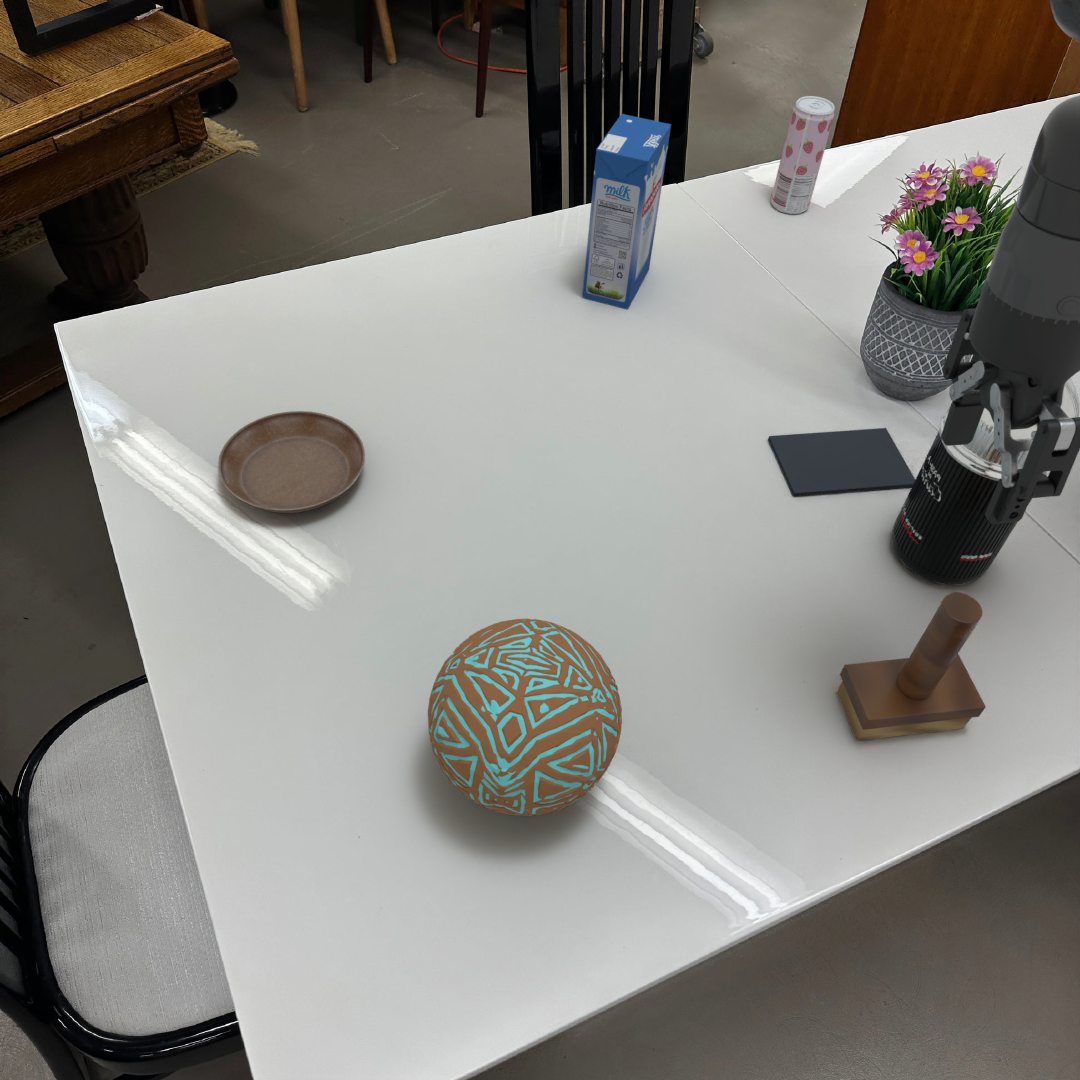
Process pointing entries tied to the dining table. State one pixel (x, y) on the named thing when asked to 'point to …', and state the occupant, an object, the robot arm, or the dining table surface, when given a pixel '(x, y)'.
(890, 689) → the brush
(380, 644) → the dining table surface
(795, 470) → the mat
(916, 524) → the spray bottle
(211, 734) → the dining table surface
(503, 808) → the decorative sphere
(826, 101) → the beverage can
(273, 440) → the saucer
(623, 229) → the milk carton
